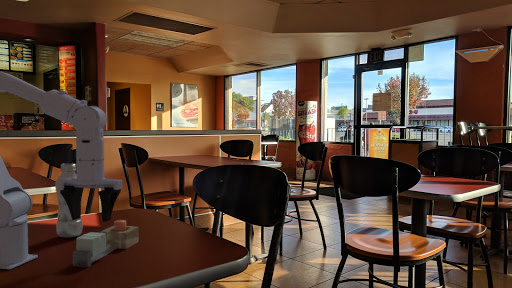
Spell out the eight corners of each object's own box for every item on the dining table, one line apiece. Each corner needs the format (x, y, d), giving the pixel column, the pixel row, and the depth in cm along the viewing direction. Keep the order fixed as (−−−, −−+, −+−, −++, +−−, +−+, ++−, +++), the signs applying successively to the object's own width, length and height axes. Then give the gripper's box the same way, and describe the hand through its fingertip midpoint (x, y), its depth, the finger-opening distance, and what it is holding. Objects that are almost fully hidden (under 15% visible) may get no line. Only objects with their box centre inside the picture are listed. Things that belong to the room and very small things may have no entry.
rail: (73, 266, 83) (72, 251, 83) (107, 247, 96) (107, 234, 96) (87, 267, 83) (87, 252, 83) (120, 248, 95) (120, 235, 95)
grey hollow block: (101, 247, 96) (101, 231, 96) (114, 240, 102) (114, 225, 102) (126, 249, 95) (126, 233, 95) (138, 241, 101) (138, 226, 101)
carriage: (76, 256, 85) (76, 237, 85) (90, 248, 90) (90, 231, 90) (93, 257, 84) (92, 239, 84) (106, 250, 89) (106, 232, 89)
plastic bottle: (72, 241, 101) (71, 165, 100) (50, 239, 103) (48, 164, 101) (88, 234, 107) (87, 163, 106) (66, 232, 109) (65, 162, 108)
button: (111, 238, 97) (111, 222, 97) (118, 234, 100) (118, 219, 100) (122, 238, 97) (122, 223, 97) (128, 235, 100) (128, 220, 100)
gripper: (129, 159, 88) (129, 217, 89) (73, 157, 91) (74, 214, 92) (112, 162, 81) (112, 225, 82) (52, 160, 84) (53, 221, 85)
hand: (91, 219), depth 87 cm, fingers open, 7 cm apart
